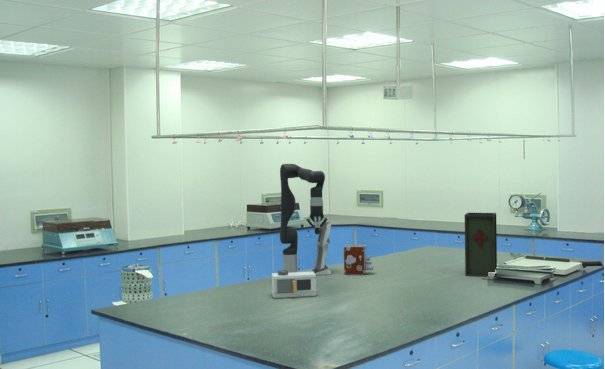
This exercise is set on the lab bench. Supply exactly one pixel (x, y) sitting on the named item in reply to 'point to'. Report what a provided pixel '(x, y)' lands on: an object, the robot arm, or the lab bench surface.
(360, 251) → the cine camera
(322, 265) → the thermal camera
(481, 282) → the lab bench surface
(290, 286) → the side door
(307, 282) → the camera housing
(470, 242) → the first aid box
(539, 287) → the lab bench surface
